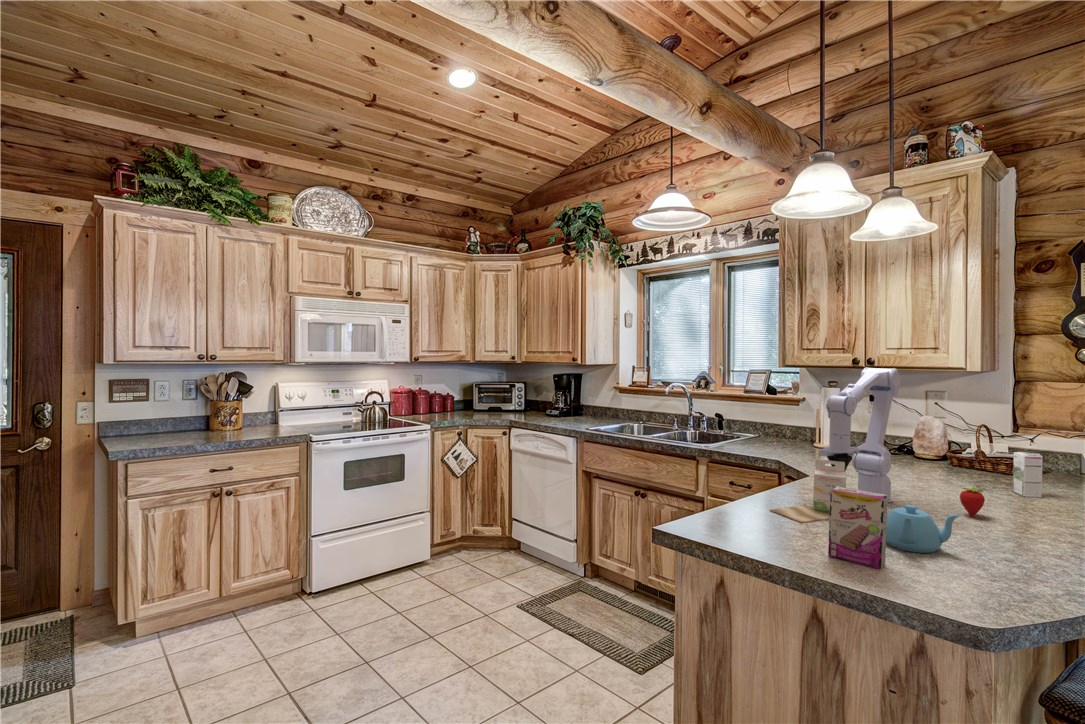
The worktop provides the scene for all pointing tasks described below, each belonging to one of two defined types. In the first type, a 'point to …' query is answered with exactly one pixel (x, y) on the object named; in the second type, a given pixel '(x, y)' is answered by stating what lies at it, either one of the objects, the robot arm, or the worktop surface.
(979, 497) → the strawberry
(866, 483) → the robot arm
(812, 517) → the cork trivet
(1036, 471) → the syrup box
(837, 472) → the ink box
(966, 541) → the worktop surface
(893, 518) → the teapot
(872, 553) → the candy bar box
